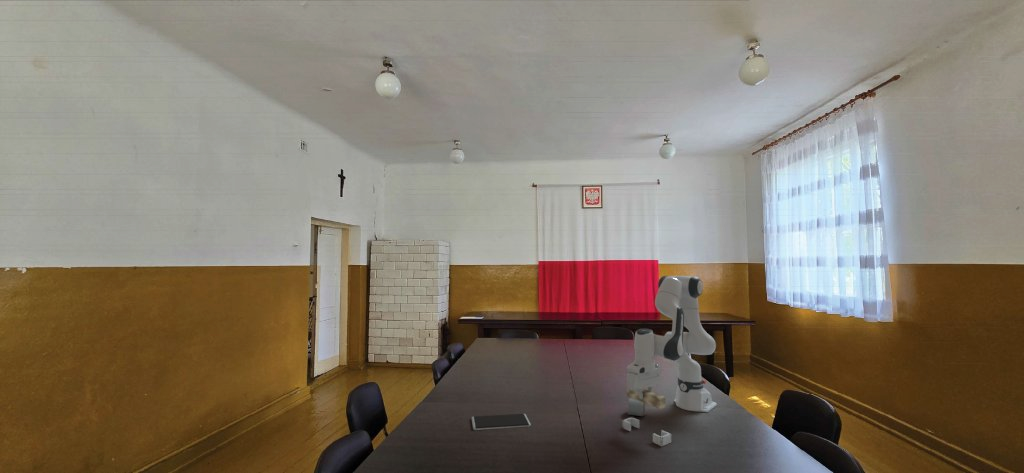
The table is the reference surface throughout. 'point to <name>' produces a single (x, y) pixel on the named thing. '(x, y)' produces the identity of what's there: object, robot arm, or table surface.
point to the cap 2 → (662, 438)
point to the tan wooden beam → (648, 398)
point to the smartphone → (500, 421)
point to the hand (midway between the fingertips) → (645, 397)
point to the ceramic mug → (636, 407)
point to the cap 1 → (630, 423)
